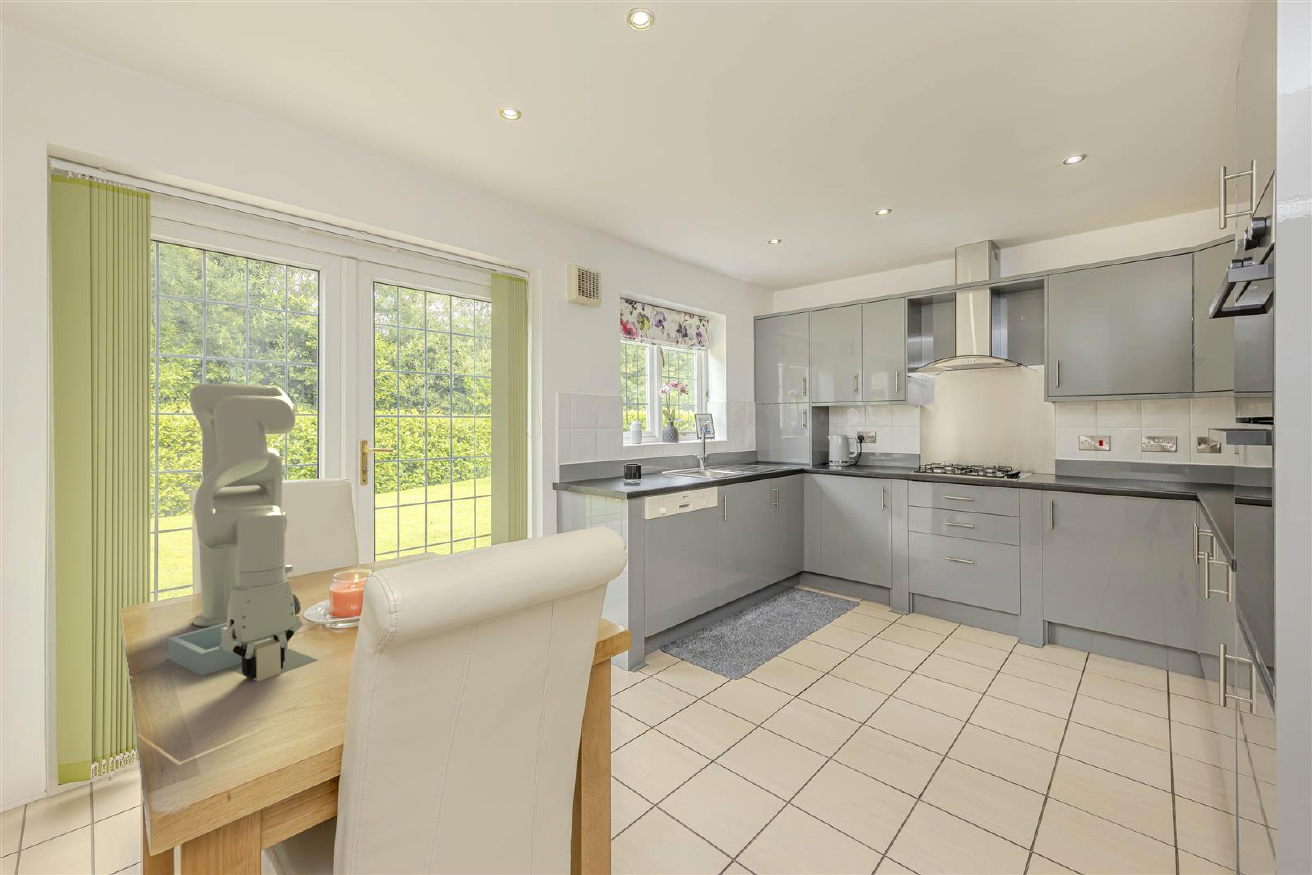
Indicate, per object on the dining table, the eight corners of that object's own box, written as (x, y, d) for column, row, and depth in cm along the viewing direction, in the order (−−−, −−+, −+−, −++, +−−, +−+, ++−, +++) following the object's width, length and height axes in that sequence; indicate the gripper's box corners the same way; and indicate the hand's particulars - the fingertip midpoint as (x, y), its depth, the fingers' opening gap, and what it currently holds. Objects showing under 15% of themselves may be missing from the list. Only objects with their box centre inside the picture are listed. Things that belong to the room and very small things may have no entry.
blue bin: (168, 659, 115) (167, 638, 115) (252, 635, 128) (251, 615, 128) (202, 677, 107) (201, 653, 107) (287, 649, 121) (287, 628, 120)
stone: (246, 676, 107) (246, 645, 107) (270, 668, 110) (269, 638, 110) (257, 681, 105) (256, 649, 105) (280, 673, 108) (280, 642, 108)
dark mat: (229, 669, 111) (229, 668, 111) (289, 650, 120) (289, 648, 120) (257, 683, 105) (257, 681, 105) (318, 661, 114) (318, 659, 114)
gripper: (297, 564, 116) (299, 652, 117) (199, 585, 102) (202, 685, 102) (318, 569, 112) (319, 660, 113) (219, 591, 98) (221, 695, 99)
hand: (263, 671), depth 108 cm, fingers closed on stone, 3 cm apart
